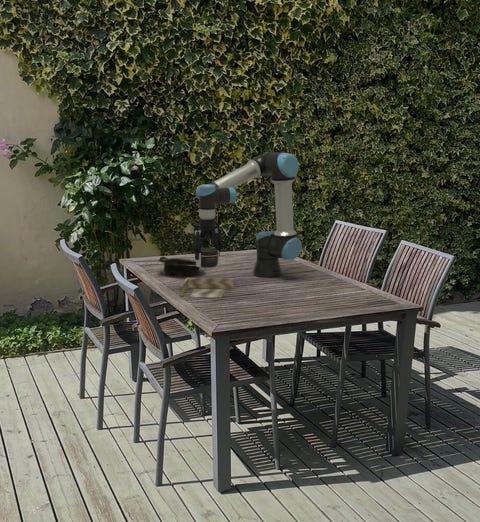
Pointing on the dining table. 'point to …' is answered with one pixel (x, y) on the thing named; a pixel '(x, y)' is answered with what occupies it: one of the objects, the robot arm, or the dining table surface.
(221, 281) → the arena
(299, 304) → the dining table surface
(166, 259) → the stone bowl
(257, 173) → the robot arm
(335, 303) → the dining table surface
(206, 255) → the jar
